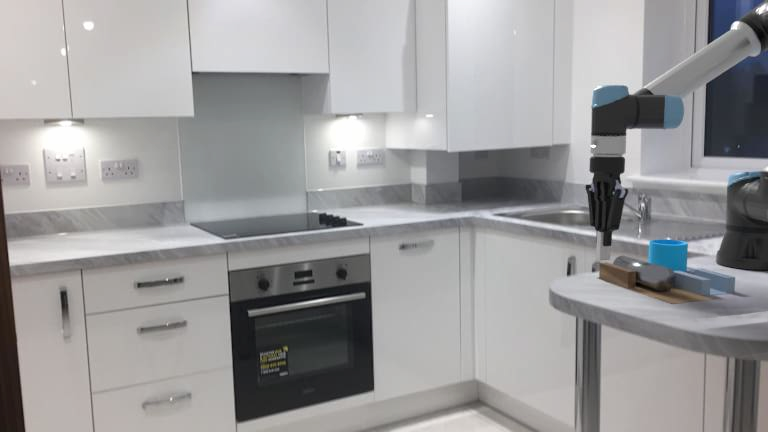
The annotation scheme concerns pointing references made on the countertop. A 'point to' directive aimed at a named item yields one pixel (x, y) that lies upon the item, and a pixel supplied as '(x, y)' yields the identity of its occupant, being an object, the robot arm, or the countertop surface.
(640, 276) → the axle
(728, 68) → the robot arm
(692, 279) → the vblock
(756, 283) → the countertop surface
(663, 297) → the wooden channel tray
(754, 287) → the countertop surface
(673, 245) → the mug
